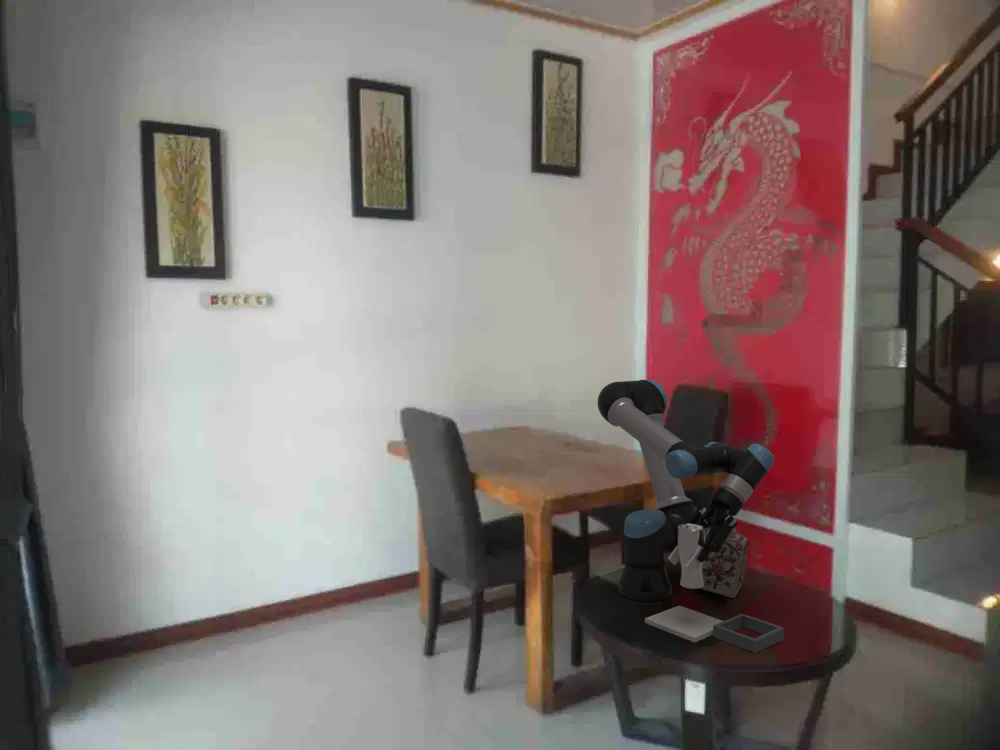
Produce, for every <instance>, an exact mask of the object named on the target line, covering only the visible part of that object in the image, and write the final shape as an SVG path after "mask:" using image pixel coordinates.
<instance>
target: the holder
mask: <svg viewBox="0 0 1000 750" xmlns="http://www.w3.org/2000/svg"><path fill="white" fill-rule="evenodd" d="M722 621H723V622H721V623H718V624H716V625H713V635H712V638H713V637H714V639H717V640H719V641H722V642H724V643H727V644H730V645H732V646H734V647H736V648H739V649H742V648H743V649H742V650H745V649H746V650H745V651H748V650H749V651H748V652H750V651H752V652H751V653H753V652H754V653H753V654H755V653H756V654H757V652H758V651H760V652H762V651H764V650H766V649H768V648H770V647H772V646H771V645H773V646H775V645H777V644H779V643H781V642H783V641H785V627H782V626H780V625H777V624H774V623H771V622H767V621H765V620H762V619H759V618H756V617H754V616H750V615H747V614H745V613H739V614H738V615H736V616H733V617H731V618H728V619H726V620H722ZM742 628H744V629H748V630H750V631H752V632H756V633H759V634H761V635H759V636H757V637H755V638H753V637H750V636H748V635H745V634H743V633H740V632H737V630H740V629H742ZM780 641H781V642H780ZM778 642H779V643H778ZM776 643H777V644H776ZM774 644H775V645H774ZM769 646H770V647H769ZM767 647H768V648H767ZM765 648H766V649H765ZM763 649H764V650H763ZM761 650H762V651H761ZM758 653H759V652H758Z"/></svg>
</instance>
